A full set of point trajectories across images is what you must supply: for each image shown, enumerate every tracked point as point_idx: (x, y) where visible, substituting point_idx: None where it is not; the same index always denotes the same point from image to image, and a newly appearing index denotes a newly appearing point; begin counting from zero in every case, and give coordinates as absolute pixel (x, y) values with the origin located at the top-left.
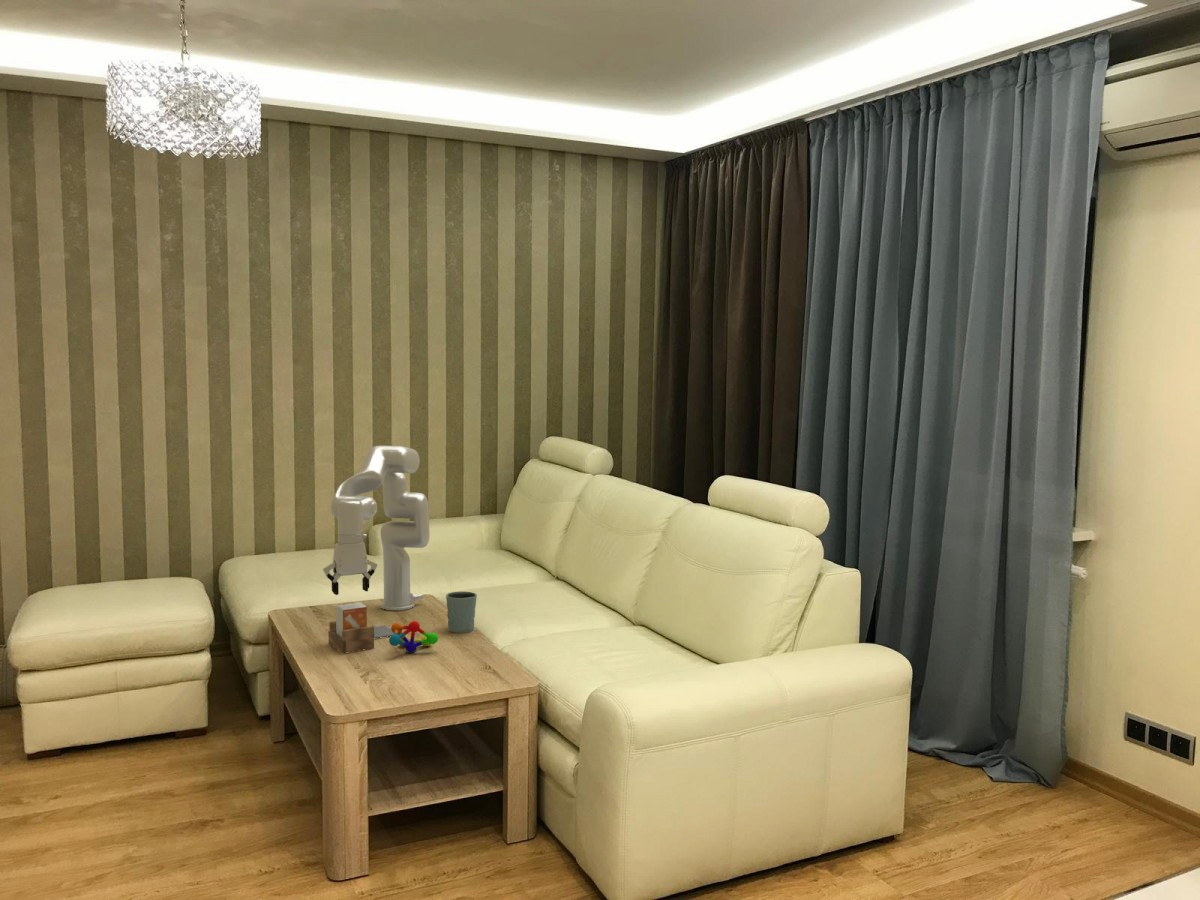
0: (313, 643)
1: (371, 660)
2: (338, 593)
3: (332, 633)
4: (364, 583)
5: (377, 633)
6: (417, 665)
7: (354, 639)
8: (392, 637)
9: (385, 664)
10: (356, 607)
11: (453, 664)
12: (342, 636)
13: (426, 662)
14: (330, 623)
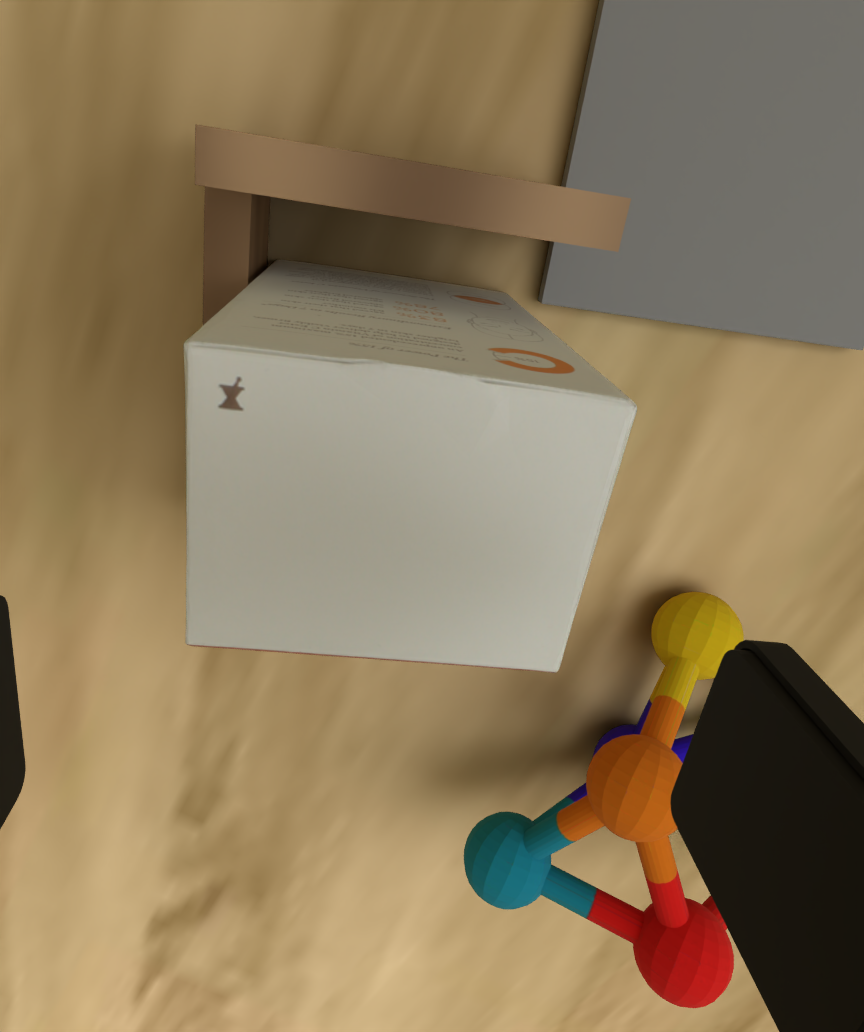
0: (88, 16)
1: (332, 744)
2: (13, 801)
3: (212, 263)
4: (774, 893)
5: (751, 207)
6: (495, 920)
7: None
8: (483, 897)
9: (365, 837)
10: (417, 638)
11: (639, 977)
12: None
13: (562, 906)
14: (198, 171)
